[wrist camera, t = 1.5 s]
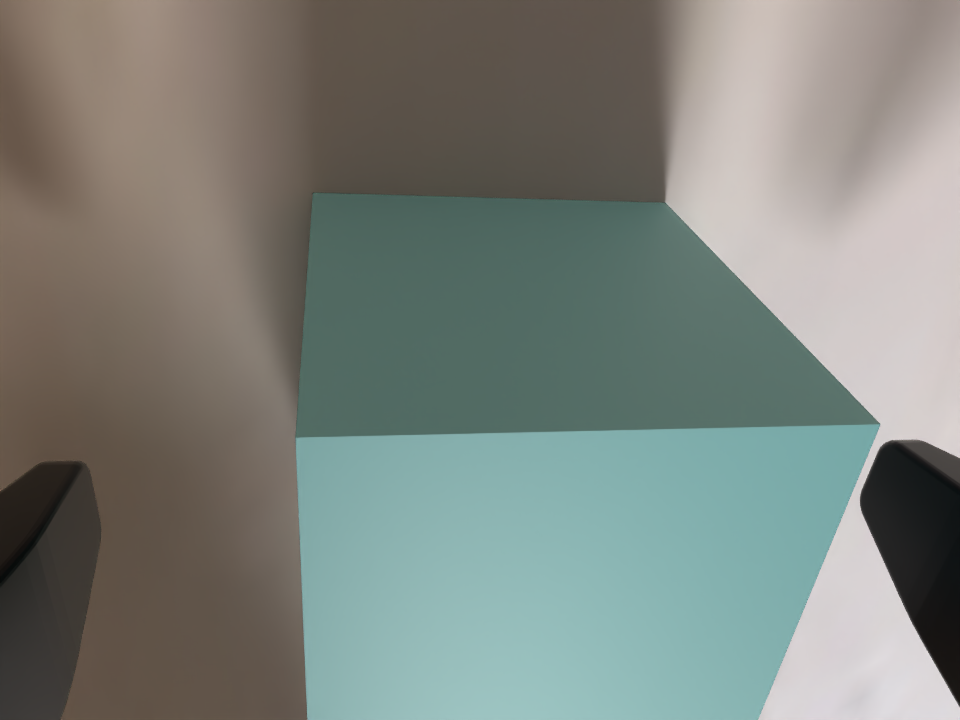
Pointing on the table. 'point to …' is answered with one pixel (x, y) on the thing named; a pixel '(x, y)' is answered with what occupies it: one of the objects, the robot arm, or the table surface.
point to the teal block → (552, 465)
